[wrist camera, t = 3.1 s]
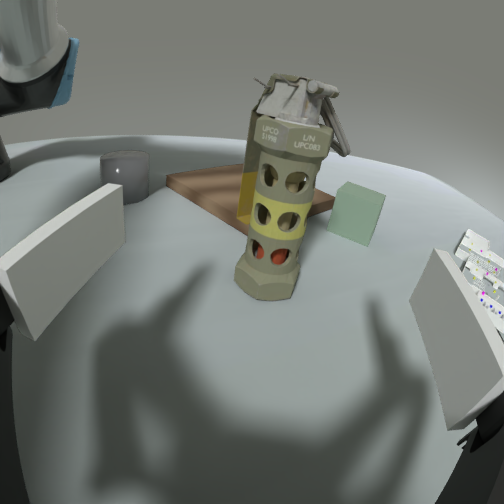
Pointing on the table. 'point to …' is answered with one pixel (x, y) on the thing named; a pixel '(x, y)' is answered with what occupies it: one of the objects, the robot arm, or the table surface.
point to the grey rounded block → (127, 173)
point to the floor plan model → (498, 314)
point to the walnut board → (227, 192)
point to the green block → (355, 213)
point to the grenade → (283, 179)
